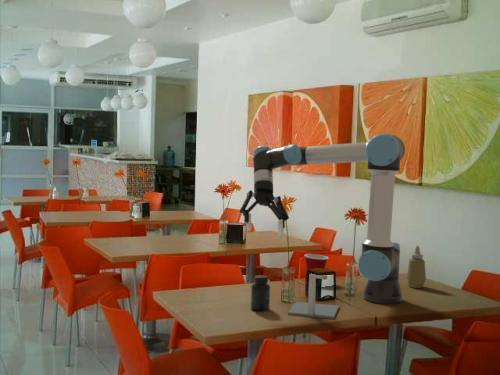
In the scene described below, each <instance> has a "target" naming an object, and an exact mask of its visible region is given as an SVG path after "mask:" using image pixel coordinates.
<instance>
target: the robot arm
mask: <svg viewBox="0 0 500 375" xmlns="http://www.w3.org/2000/svg"><path fill="white" fill-rule="evenodd" d="M405 152H406V146H405V143H404V142H403V140H402V139H401V138H400V137H399V136H397V135H393V134H390V133H386V132H385V133H378V134H376V135H374V136H373V137H371V138H370V139H369V140H368V141H365V142H354V143H352V142H351V143H350V142H349V143H339V144H338V143H336V144H325V145H323V144H322V145H321V144H320V145H312V146H311V145H309V146H299V145H297V144H296V143H294V144H293V143H292V144H287V145H286V146H282V147H278V148H274V149H271V147H269V146H262V145H261V146H257V147H256V148H255V149H254V150H253V157H252V161H253V183H254V184H253V190H254V191H252V189H250V190H249V191H247V193H246V197H245V199H244V202H243V203H242V205H241V207H240V209H239V213H240V214H242V216H244V218H243V219H244V220H243V221H244V223H246V232H247V233H249V232H250V231H252V213H250V212H252V210H253V209H254V208H255V207H257V205H259V206H264V207H268V208H269V210H270V211H272V213H273V214H274V215H275V217H276V219H277V220H278V221H277V237H278V238H281V237H283V236H284V229H285V228H286V226H285V224H286V223H285V222H286V221H287V220H289V218H290V217H289V214H288V212H287V210H286V208H285V206H284V204H283V203H282V197H281V195H278V196H274V176H273V174H274V173H273V170H274V169H279V168H283V167H286V166H296V167H297V166H306V165H307V166H308V165H309V166H310V165H324V164H326V165H327V164H343V163H345V164H346V163H363V162H367V169H366V170H367V171H368V172H369V173H370V175H371V176H370V187H369V188H370V189H369V201H368V214H367V216H368V217H367V231H366V233H367V234H366V238H365V240H363V241H362V245H361V254H360V256H359V259H358V262H357V264H358V267H357V268H358V270H359V272H360V274H361V275H362V276H363V277H364V278H365V279H367V282H366V285H365V286H364V290H363V293H362V294H363V296H362V298H363V299H364V300H365V301H367V302H371V303H375V304H376V303H377V304H386V305H388V304H391V305H392V304H400V303H402V302H403V293H402V288H401V285H400V281H399V278H400V277H399V276H400V255H401V246H400V243H398V242H392V240H391V237H392V236H391V235H392V234H391V233H392V225H393V224H392V221H393V209H394V208H393V207H394V192H395V181H396V180H395V179H396V175H397V174H398V173H400V171H401V170H400V168H401V161H402V160H403V159H404V156H405ZM252 198H254V200H255V201H254V202H253V203H251V205H250V206H249V207H248V205H249V203H250V201H251V199H252Z"/></svg>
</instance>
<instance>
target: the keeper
mask: <svg viewBox="0 0 500 375" xmlns="http://www.w3.org/2000/svg"><path fill="white" fill-rule="evenodd" d="M316 279H322V280H325V281H326V280H327V279H328V276H327V274H323V276H322V275H316V274H312V273H311V274H309V281H308V292H307V293H308V298H307V300H308V301H307V302H304V301H303V302H301V301H296V302H295V303H294V304H293V305H292V307H291V308H290V310H289V311H288V312H287V315H289V316H298V317H300V316H301V317H308V318H309V317H310V318H311V317H312V318H320V319H329V320H334V319H335V317H336V315H337V313H338V311H339V309H340V305H338V304H337V305H334V304H324V303H316V291H317V290H316V289H317V288H316V286H317V283H316Z"/></svg>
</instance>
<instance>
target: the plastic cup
mask: <svg viewBox="0 0 500 375" xmlns="http://www.w3.org/2000/svg"><path fill="white" fill-rule="evenodd" d="M304 260H305V266H306V270H307V269H314V268H323V269H324V270H326V269H325V268H326V265H327V262H328V260H329V256H327V255H326V256H325V255H321V254H318V253H317V254H314V253H306V254H304Z"/></svg>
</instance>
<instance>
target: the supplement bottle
mask: <svg viewBox="0 0 500 375" xmlns="http://www.w3.org/2000/svg"><path fill="white" fill-rule="evenodd" d="M253 278H254V280H253V282H254V283H252V285H251V288H250V309H251V310H252V311H254V312H260V313H262V312H268V311H269V310H270V308H271V302H270V301H271V286H270V284H269V283H268V282H269V277H268V275H262V274H259V275H254V277H253Z"/></svg>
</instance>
